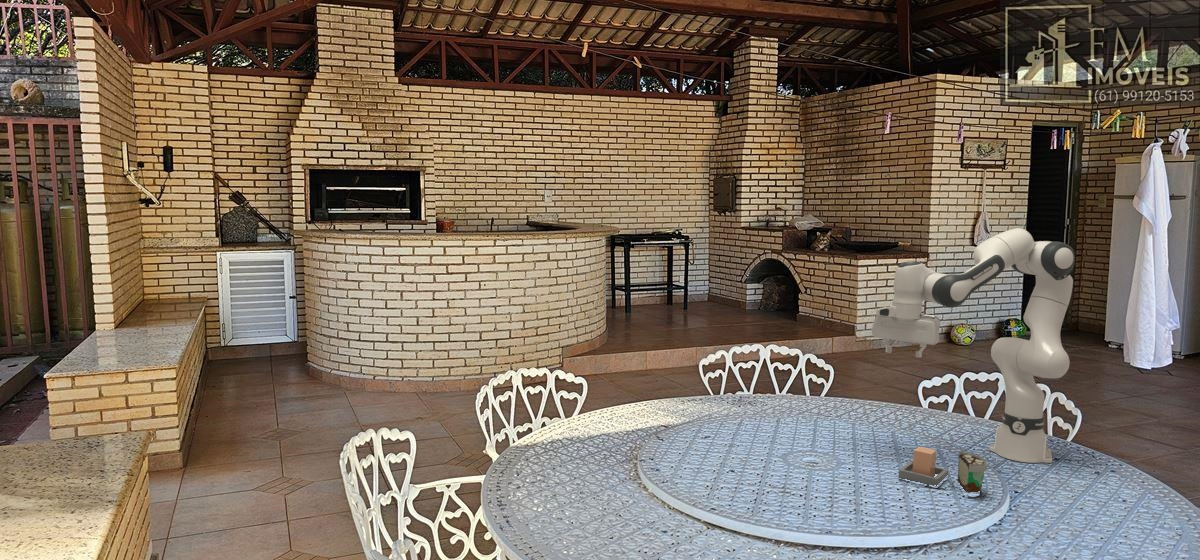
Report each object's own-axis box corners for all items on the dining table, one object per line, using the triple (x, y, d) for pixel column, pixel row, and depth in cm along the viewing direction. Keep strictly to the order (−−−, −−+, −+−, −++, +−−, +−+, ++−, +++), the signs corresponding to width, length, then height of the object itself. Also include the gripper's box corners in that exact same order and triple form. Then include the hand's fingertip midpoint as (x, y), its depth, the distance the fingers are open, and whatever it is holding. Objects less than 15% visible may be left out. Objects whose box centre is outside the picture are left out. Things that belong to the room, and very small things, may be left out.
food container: (990, 501, 215) (993, 467, 214) (967, 499, 216) (969, 464, 215) (978, 485, 227) (981, 453, 226) (955, 483, 228) (958, 451, 227)
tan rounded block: (917, 472, 234) (919, 446, 233) (934, 476, 231) (936, 450, 230) (912, 476, 230) (914, 450, 229) (929, 480, 227) (931, 454, 226)
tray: (910, 470, 238) (910, 461, 238) (947, 479, 231) (948, 469, 231) (898, 479, 230) (898, 469, 230) (936, 489, 223) (937, 479, 223)
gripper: (943, 315, 241) (940, 358, 242) (878, 307, 254) (875, 348, 255) (937, 317, 236) (934, 361, 237) (871, 309, 249) (868, 351, 250)
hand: (903, 354), depth 246 cm, fingers open, 8 cm apart
